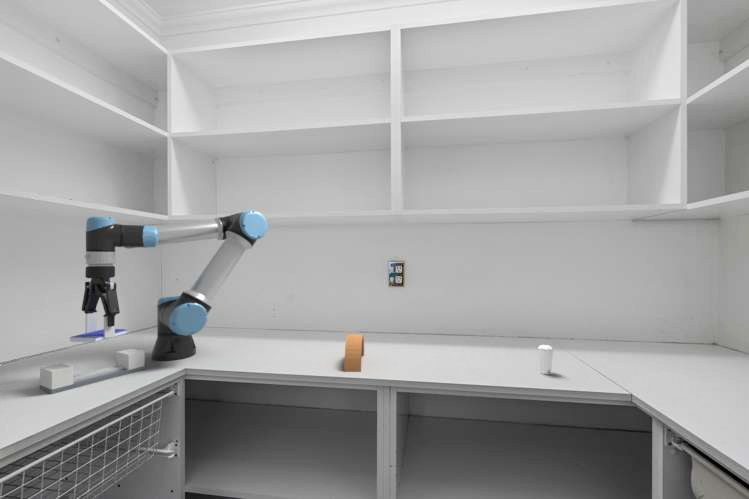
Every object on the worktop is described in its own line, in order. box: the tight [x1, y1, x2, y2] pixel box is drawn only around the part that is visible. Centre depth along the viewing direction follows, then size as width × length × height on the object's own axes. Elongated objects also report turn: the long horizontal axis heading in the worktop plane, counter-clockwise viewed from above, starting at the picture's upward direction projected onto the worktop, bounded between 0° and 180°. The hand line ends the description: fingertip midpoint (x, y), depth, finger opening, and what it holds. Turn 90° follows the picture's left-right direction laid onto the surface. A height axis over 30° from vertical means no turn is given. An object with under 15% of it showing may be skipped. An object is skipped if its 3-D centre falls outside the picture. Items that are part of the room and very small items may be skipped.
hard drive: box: [69, 328, 127, 343], centre depth 114 cm, size 2×8×12 cm
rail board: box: [39, 348, 146, 395], centre depth 114 cm, size 25×8×6 cm, turn 151°
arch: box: [343, 334, 365, 372], centre depth 131 cm, size 6×20×10 cm, turn 178°
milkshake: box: [537, 344, 555, 376], centre depth 118 cm, size 4×5×10 cm
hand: (99, 335), depth 114 cm, fingers closed on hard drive, 10 cm apart
